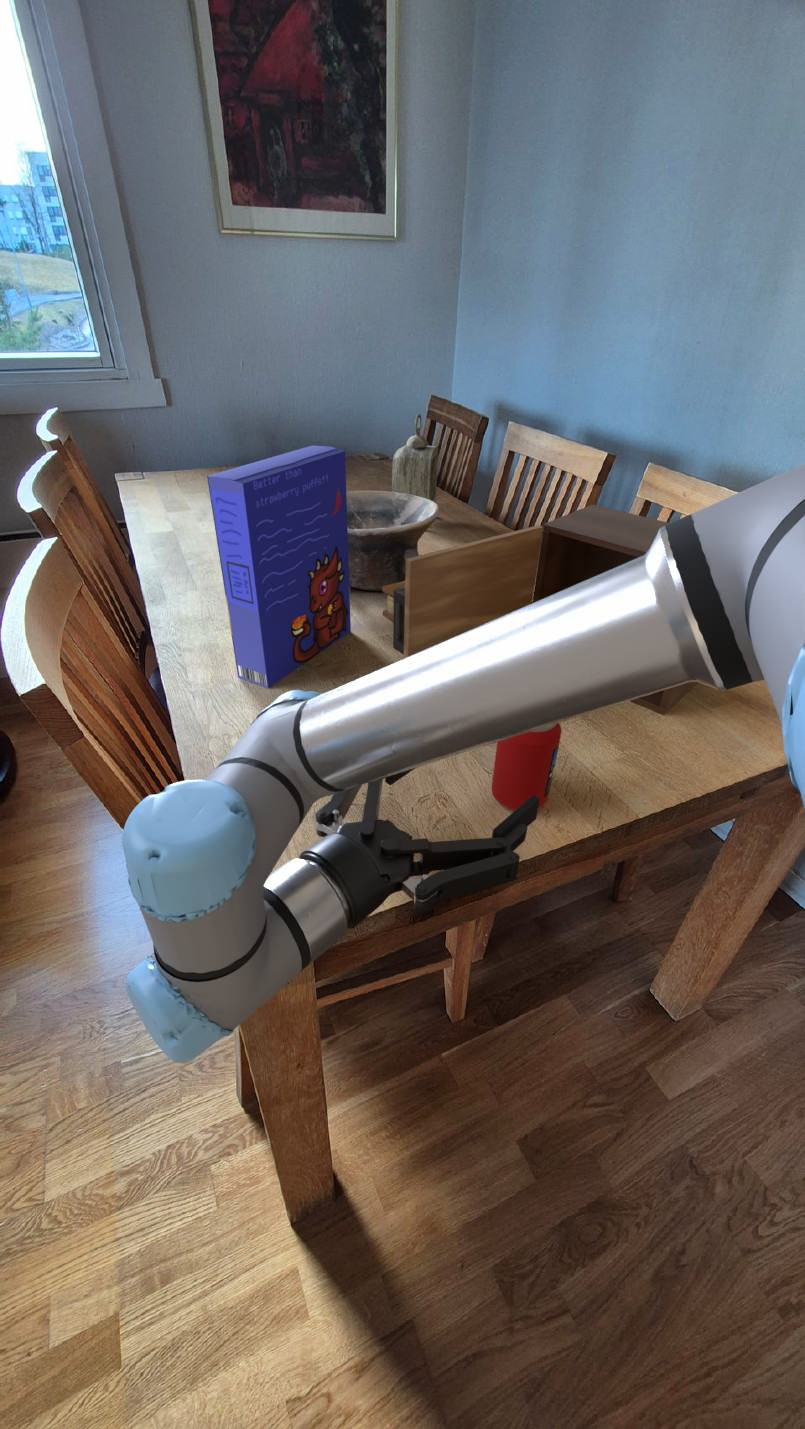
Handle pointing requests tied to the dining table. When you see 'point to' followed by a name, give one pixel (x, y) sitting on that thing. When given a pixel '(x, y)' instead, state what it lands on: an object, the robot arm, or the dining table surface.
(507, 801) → the beverage can
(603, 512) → the cabinet
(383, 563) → the bowl
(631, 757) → the dining table surface
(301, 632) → the cereal box
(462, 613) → the cabinet door
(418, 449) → the grey bell
